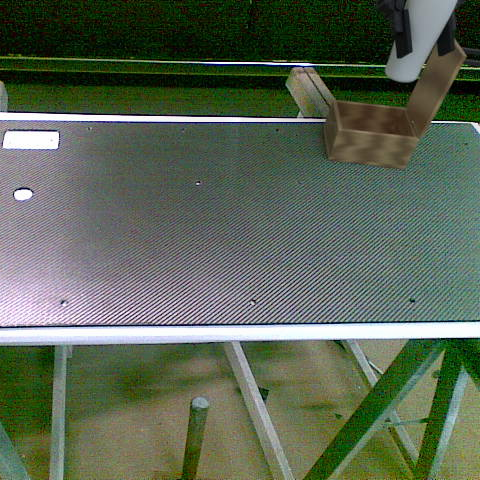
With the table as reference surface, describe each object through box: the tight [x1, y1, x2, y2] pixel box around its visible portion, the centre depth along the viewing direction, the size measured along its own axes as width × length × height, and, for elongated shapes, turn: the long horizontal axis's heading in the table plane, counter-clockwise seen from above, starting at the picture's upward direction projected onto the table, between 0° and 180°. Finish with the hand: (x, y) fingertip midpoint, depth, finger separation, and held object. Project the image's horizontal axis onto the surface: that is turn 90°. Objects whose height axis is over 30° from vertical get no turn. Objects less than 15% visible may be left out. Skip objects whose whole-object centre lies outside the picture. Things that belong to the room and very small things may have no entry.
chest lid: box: [405, 37, 480, 139], centre depth 85 cm, size 15×12×10 cm
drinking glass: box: [384, 0, 458, 83], centre depth 75 cm, size 7×7×15 cm
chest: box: [322, 99, 421, 170], centre depth 94 cm, size 15×12×7 cm
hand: (425, 54), depth 74 cm, fingers closed on drinking glass, 7 cm apart
